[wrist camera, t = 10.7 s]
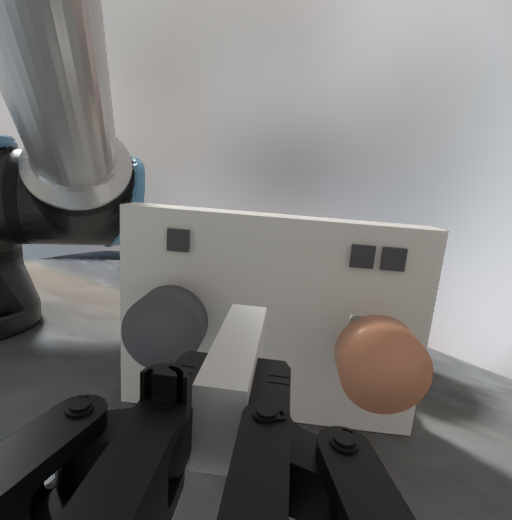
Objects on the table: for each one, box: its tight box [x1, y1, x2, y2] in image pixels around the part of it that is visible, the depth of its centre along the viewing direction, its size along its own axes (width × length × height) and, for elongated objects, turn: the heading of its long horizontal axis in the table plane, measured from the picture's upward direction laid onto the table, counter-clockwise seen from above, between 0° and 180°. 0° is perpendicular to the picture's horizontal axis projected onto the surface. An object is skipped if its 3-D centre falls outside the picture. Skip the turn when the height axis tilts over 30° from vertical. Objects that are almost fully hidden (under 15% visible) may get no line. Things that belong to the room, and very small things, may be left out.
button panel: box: [120, 202, 448, 436], centre depth 35 cm, size 7×26×18 cm, turn 85°
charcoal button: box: [121, 285, 208, 367], centre depth 33 cm, size 10×6×6 cm, turn 175°
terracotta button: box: [334, 315, 433, 414], centre depth 29 cm, size 10×6×6 cm, turn 175°
